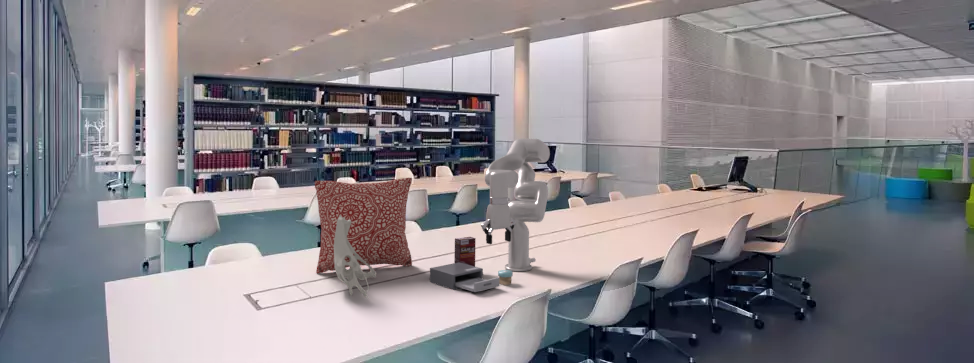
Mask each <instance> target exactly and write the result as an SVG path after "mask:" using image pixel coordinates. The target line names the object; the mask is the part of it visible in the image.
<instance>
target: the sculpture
mask: <svg viewBox="0 0 974 363" xmlns="http://www.w3.org/2000/svg"><path fill="white" fill-rule="evenodd" d="M351 223H352V222H351V220H346V219H345V217H343V218H342V216H341V215H339V218H338V219H337V225H336V232H335V238H334V263H335V266H334V267H335V270H334V271H335V273H336V277H337V279H338V280H339V281H340V282H342V283H343V284H345V285H346V286H347V287H348V290H349V296H351V297H352V295H353V294H354V292H353V287H355V286H356V288H357V289H358V290H359V291H360V292H359V293H360V295H362V294H363V297H366V298H367V299H369V300H370V298H369V296H368V291H370V290H369V289H370V286H369V282H368V280H367V279H369V278H377V272H376V269H374V268H373V267H372V265H369V264H367V263H366V262H365V261H364V260H363V259H362V258H361V257H360V256H359V255H358V254H357V253H356V252H355V250H354V249H353V247H352V246H351V244H350V243H349V241H348V239H347V235H348V231H349V228H350V225H351ZM352 253H353V254H354V255H353V254H352ZM345 257H348V258H349V259H350V261H349V262H346V261H345ZM357 259H359V260H360V261H361V262H363V263H364V264H366V265H365V266H366V267H367V268H369V271H368V272H366V271H363V269H362V267H361V265H359V263H358V262H357ZM345 265H349V266H351V267H348V269H347V267H346V268H345ZM358 279H359V280H361V281H365V283H366V285H367V290H365V289H364V288H363V287H362V285H361V284H360V282H359V281H358Z"/></svg>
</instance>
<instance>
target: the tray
mask: <svg viewBox="0 0 974 363" xmlns="http://www.w3.org/2000/svg"><path fill="white" fill-rule="evenodd" d="M455 286H457V287H460V289H463V290H467V291H469V292H472V293H477V292H482V291H485V290H489V289H493V288H497V287H500V284H499V276H498V277H492V278H490V279H489V278H488V279H485V278H483V279H482V278H479V277H478V278H473V279H468V280H464V281H459V282H455Z"/></svg>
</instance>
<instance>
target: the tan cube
mask: <svg viewBox="0 0 974 363" xmlns="http://www.w3.org/2000/svg"><path fill="white" fill-rule="evenodd" d="M498 277H499V276H498ZM499 285H503V286H508V285H512V277H499Z"/></svg>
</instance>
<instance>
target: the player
mask: <svg viewBox="0 0 974 363" xmlns="http://www.w3.org/2000/svg"><path fill="white" fill-rule="evenodd" d="M483 269H484V268H482V267H478V266H476V265H475V266H471V265H467V264H464V263H460V262H458V263H454V262H453V263H450V264H443V265H440V266H439V265H438V266H433V267H430V268H429V282H430V283H431V284H435V285H438V286H441V287H444V288H447V289H450V290H453V291H455V290H459V289H461V288H460V287H457V286H455V282H459V281H464V280H468V279H473V278H478V277H479V278H482V279H484V276H483V275H484V274H483V273H484V272H483V271H484V270H483Z"/></svg>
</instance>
